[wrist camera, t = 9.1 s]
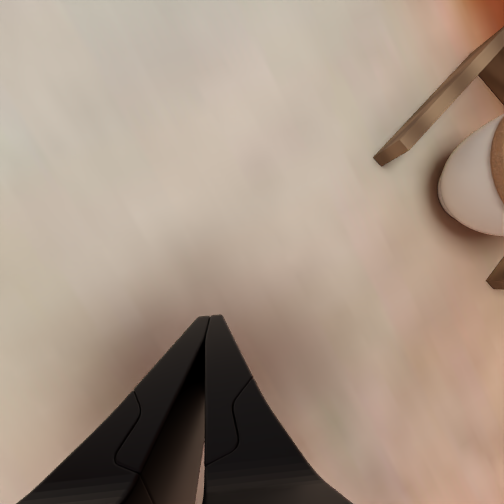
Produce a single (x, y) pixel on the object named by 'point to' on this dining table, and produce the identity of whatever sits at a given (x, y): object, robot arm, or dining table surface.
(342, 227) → the dining table surface
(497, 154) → the lidded jar
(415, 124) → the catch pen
